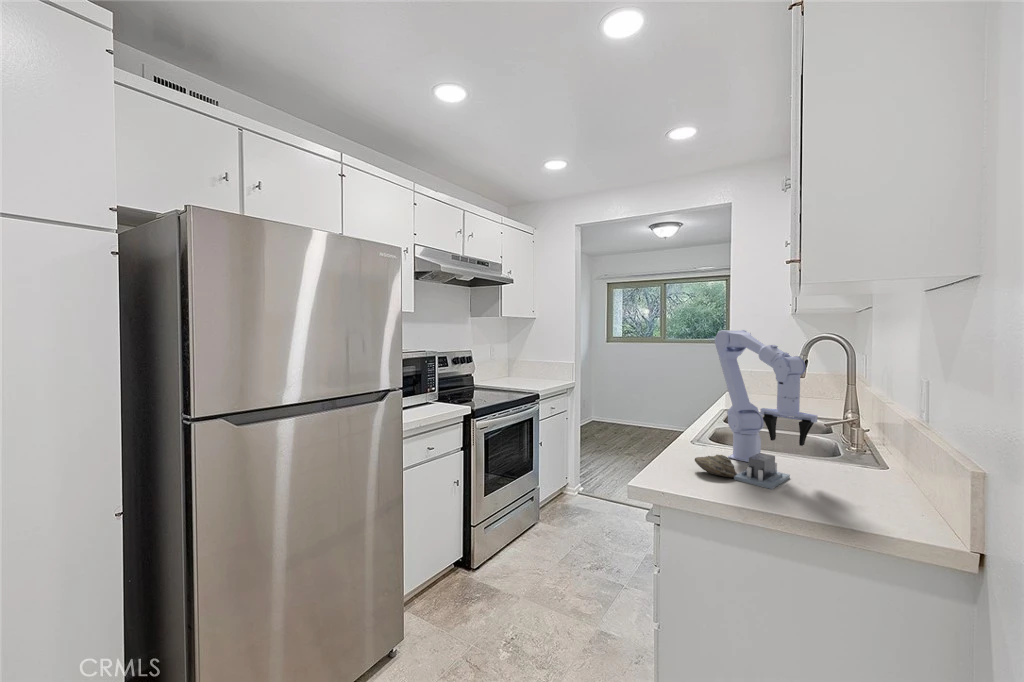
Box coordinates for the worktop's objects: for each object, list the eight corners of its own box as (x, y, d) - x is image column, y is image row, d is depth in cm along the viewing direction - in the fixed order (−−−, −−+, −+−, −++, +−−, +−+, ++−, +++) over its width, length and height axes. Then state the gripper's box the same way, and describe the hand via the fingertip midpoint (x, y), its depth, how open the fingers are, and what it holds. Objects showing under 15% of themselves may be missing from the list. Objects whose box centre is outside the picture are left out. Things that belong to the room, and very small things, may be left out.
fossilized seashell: (728, 477, 125) (722, 452, 127) (693, 481, 132) (687, 457, 134) (742, 476, 132) (736, 452, 135) (708, 480, 139) (702, 457, 141)
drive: (759, 470, 133) (759, 452, 133) (774, 474, 130) (775, 455, 130) (748, 476, 128) (748, 457, 128) (764, 480, 125) (764, 461, 124)
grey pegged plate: (753, 469, 137) (753, 456, 137) (789, 478, 130) (789, 464, 130) (733, 479, 128) (734, 465, 128) (771, 489, 121) (772, 474, 120)
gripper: (756, 395, 134) (755, 439, 135) (812, 401, 123) (811, 450, 124) (765, 393, 139) (764, 436, 139) (820, 399, 128) (818, 445, 128)
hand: (787, 442), depth 132 cm, fingers open, 7 cm apart
